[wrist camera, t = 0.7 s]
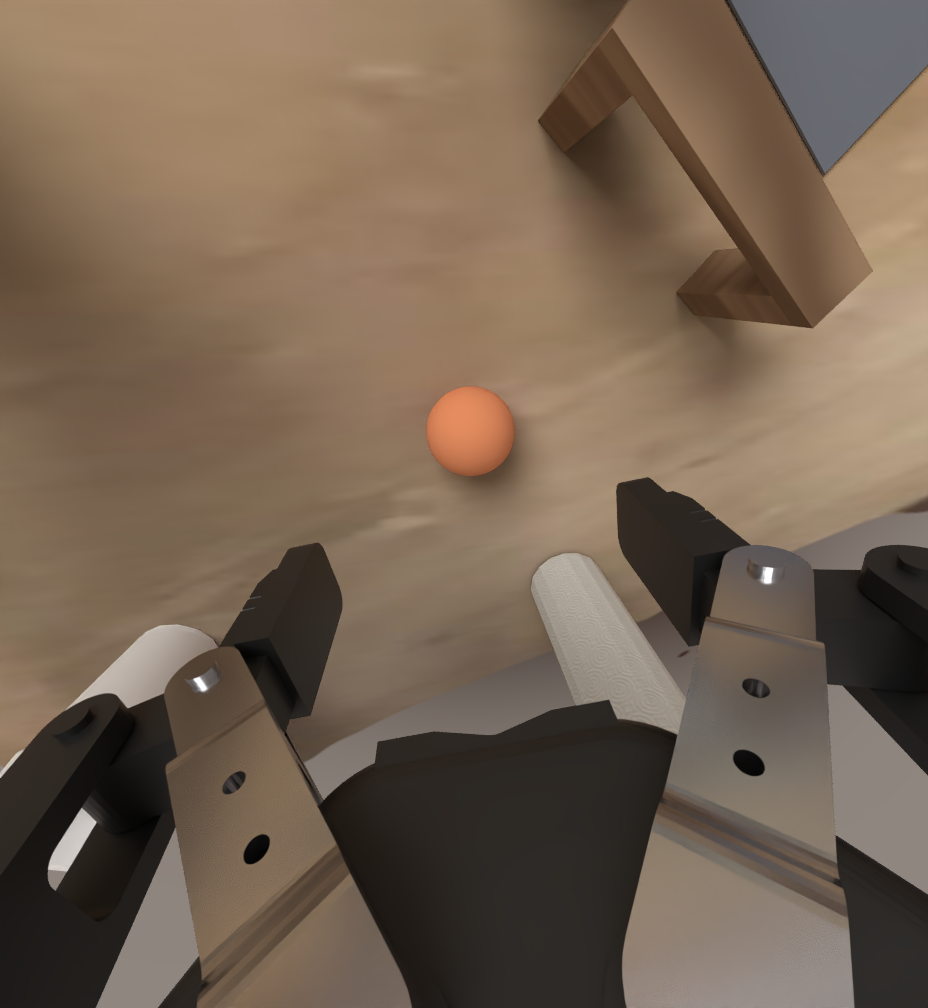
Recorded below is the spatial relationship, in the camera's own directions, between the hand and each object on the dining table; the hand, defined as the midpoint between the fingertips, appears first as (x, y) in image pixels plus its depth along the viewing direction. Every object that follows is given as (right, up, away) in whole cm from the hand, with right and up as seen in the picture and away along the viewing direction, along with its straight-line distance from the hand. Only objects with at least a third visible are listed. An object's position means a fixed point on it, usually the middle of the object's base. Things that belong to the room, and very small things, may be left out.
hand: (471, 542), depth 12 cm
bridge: (+10, +18, +13) cm, 25 cm away
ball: (0, +6, +15) cm, 16 cm away
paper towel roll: (+8, -6, +25) cm, 27 cm away
